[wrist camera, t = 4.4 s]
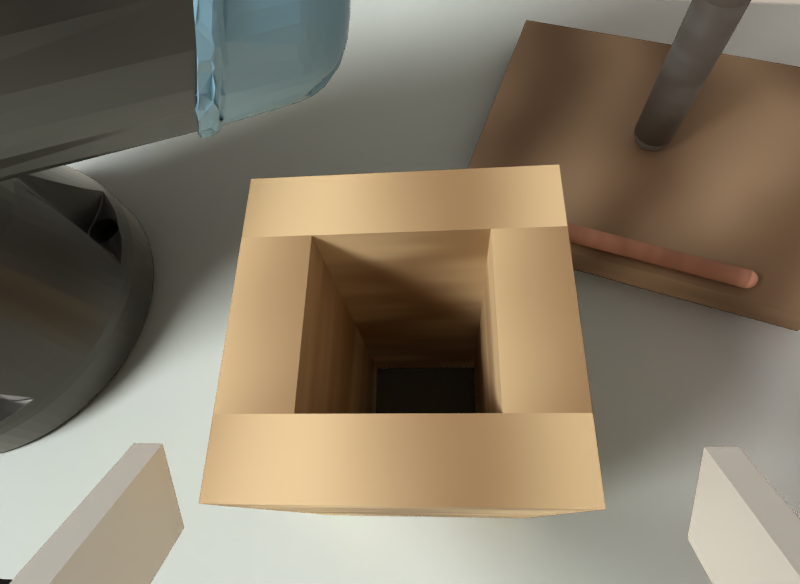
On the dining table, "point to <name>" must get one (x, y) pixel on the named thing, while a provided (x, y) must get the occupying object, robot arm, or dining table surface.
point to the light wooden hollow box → (404, 349)
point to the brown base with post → (664, 158)
